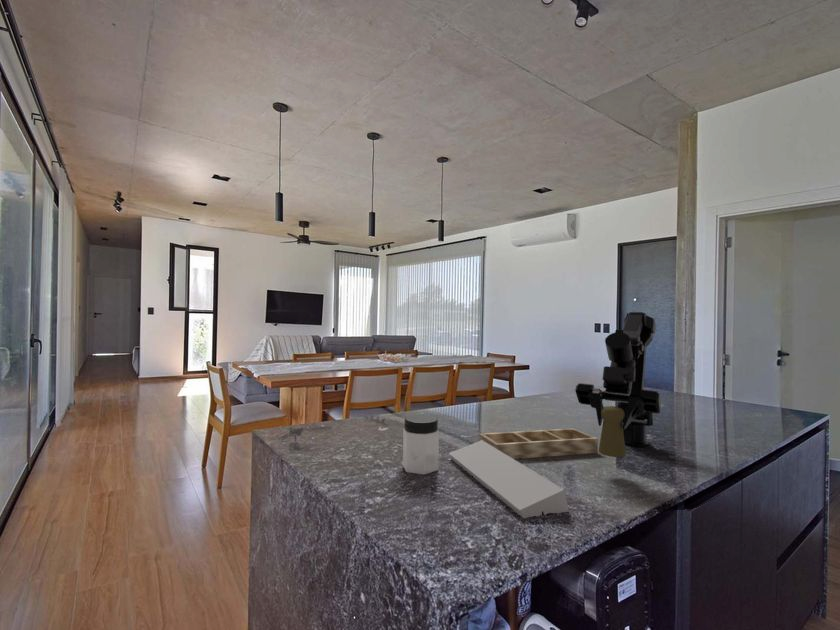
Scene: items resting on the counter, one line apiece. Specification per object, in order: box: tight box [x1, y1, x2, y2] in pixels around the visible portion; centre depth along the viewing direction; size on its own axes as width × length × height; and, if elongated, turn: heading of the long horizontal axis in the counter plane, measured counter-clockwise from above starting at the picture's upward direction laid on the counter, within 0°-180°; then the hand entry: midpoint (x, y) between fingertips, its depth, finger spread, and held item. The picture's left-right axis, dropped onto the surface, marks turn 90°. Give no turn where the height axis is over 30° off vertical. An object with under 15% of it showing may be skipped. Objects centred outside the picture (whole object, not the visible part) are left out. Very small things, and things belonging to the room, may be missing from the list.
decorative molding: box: [448, 440, 569, 519], centre depth 95 cm, size 34×5×10 cm
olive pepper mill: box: [598, 405, 627, 458], centre depth 101 cm, size 6×6×11 cm
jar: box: [402, 414, 440, 476], centre depth 102 cm, size 9×8×12 cm
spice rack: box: [478, 428, 599, 460], centre depth 119 cm, size 31×11×4 cm, turn 106°
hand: (611, 426), depth 100 cm, fingers closed on olive pepper mill, 5 cm apart
